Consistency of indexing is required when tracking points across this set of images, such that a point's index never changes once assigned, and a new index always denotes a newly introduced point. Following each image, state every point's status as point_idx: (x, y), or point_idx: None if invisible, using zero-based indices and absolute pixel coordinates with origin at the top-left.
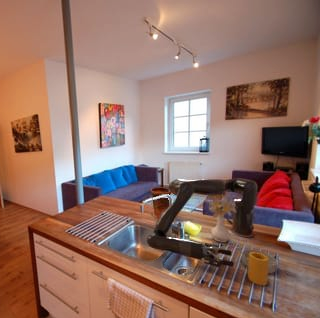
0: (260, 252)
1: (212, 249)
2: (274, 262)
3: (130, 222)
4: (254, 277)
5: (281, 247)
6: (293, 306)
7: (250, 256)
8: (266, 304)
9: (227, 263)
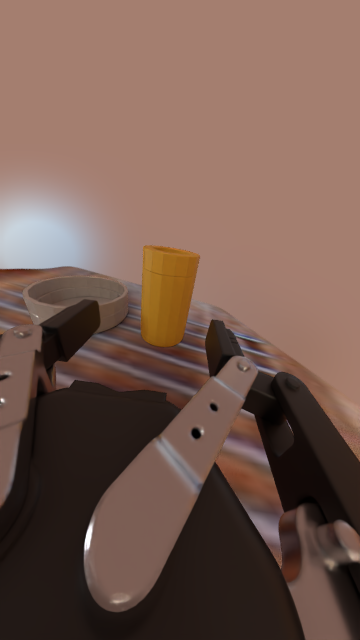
0: (52, 282)
1: (31, 408)
2: (100, 285)
3: None
4: (183, 326)
5: (19, 271)
6: (220, 317)
7: (180, 259)
8: (251, 345)
9: (237, 345)
